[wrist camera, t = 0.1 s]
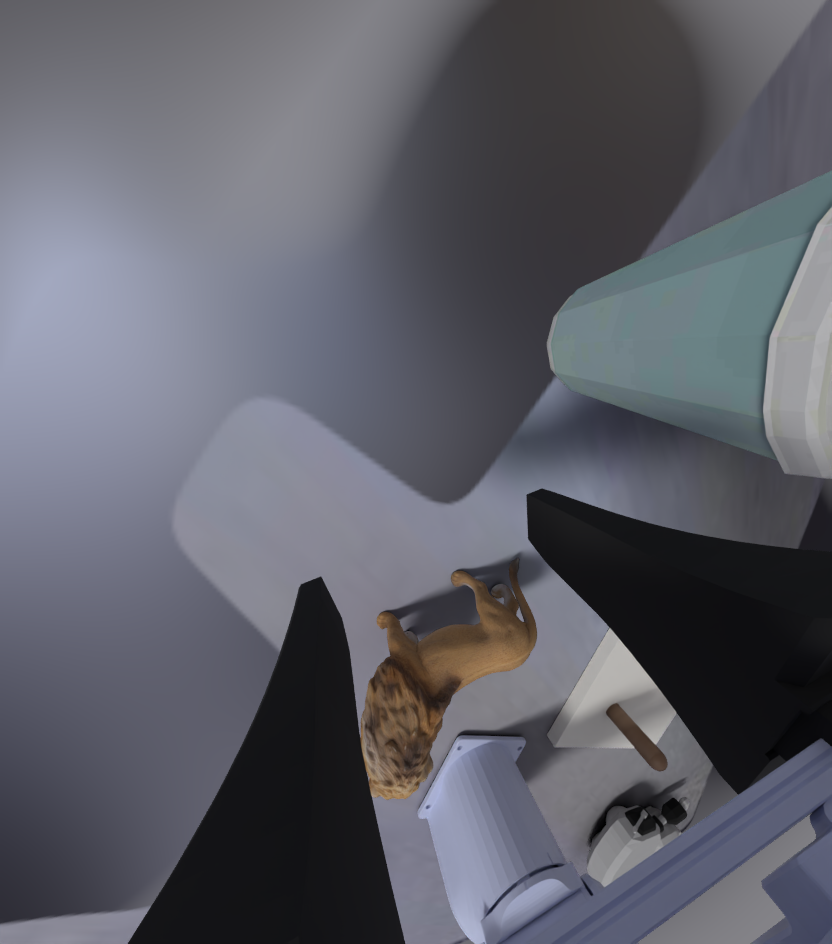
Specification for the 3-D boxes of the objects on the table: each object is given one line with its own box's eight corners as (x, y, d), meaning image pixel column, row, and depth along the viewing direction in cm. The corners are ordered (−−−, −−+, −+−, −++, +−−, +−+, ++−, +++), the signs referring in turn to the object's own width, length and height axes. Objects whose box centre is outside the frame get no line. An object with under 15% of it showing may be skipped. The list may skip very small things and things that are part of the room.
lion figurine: (369, 685, 26) (397, 836, 17) (329, 643, 23) (340, 793, 15) (525, 576, 27) (619, 668, 19) (501, 527, 25) (595, 607, 17)
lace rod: (613, 716, 34) (665, 775, 29) (603, 715, 34) (654, 776, 29) (621, 703, 34) (675, 761, 29) (611, 702, 34) (664, 762, 29)
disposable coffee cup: (621, 215, 21) (1244, -86, 7) (666, 365, 25) (1102, 364, 11) (488, 320, 20) (876, 220, 6) (558, 454, 24) (876, 567, 11)
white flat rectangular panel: (643, 738, 40) (653, 748, 39) (546, 735, 34) (554, 747, 33) (725, 611, 37) (738, 619, 36) (635, 584, 31) (647, 592, 30)
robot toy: (671, 771, 47) (602, 793, 41) (707, 810, 43) (637, 840, 37) (633, 834, 50) (563, 864, 43) (664, 876, 46) (591, 916, 39)
